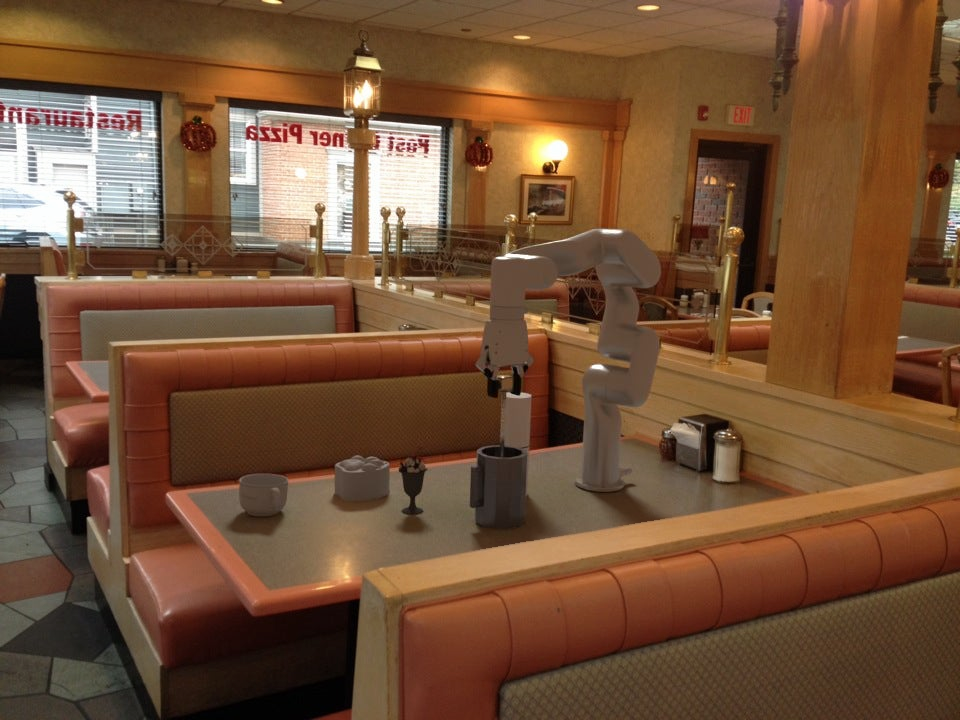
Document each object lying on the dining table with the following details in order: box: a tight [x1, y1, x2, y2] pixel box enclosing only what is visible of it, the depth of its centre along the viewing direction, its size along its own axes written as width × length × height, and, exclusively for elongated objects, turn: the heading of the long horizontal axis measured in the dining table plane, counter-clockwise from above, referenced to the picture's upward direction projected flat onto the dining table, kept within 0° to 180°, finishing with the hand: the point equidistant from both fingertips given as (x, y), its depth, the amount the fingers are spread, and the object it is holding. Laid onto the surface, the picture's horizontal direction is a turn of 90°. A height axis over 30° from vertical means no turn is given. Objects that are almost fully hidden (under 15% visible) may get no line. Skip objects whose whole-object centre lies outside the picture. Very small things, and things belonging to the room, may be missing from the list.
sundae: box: [398, 446, 428, 515], centre depth 200 cm, size 7×7×15 cm
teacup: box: [238, 473, 290, 517], centre depth 195 cm, size 14×11×8 cm
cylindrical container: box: [504, 392, 532, 497], centre depth 214 cm, size 7×7×25 cm
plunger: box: [496, 374, 514, 458], centre depth 193 cm, size 8×8×21 cm
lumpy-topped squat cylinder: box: [334, 454, 391, 503], centre depth 212 cm, size 10×13×9 cm
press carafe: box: [469, 444, 527, 530], centre depth 195 cm, size 13×11×16 cm
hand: (504, 394), depth 192 cm, fingers open, 5 cm apart
